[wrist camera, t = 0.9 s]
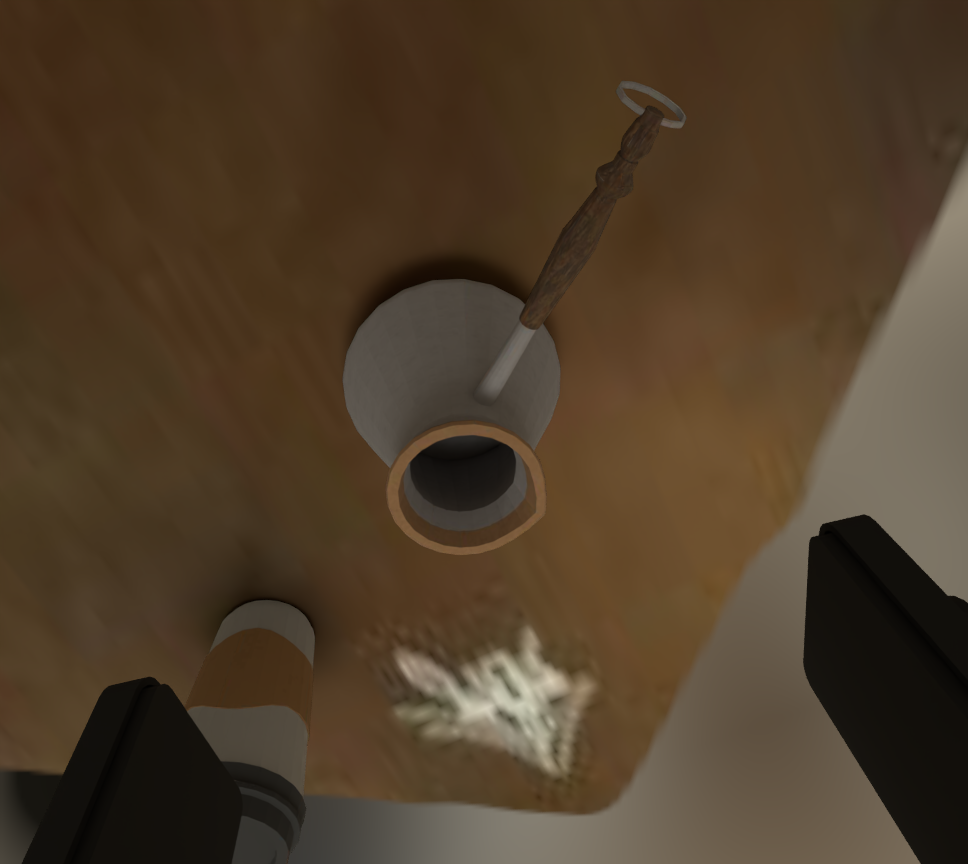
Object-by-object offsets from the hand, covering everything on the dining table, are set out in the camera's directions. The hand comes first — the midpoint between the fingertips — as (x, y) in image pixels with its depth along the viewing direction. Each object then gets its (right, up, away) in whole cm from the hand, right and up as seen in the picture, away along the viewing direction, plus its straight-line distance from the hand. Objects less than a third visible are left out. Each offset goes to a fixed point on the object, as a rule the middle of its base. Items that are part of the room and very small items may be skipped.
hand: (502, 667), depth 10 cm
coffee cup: (-15, -10, +37) cm, 41 cm away
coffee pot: (0, +11, +27) cm, 29 cm away
